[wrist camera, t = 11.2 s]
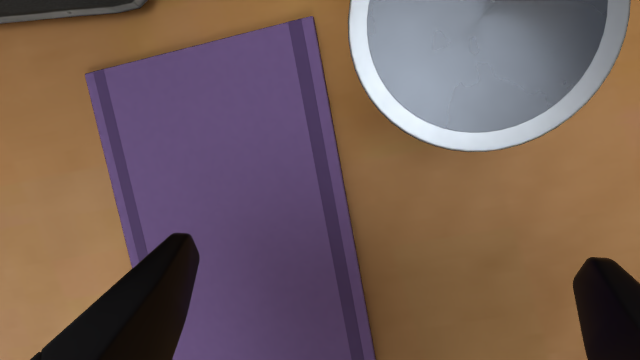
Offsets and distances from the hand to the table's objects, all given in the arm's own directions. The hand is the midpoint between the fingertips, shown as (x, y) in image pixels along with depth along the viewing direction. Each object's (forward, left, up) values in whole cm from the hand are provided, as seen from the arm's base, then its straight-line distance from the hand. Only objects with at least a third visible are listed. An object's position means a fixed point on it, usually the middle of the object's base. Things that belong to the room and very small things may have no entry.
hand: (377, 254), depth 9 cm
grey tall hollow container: (+5, -8, -11) cm, 14 cm away
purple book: (+4, +7, -11) cm, 14 cm away
